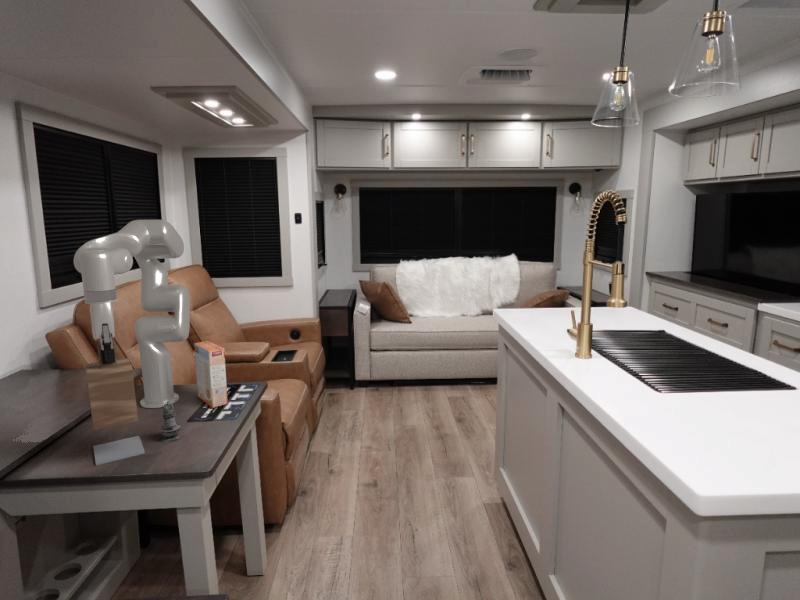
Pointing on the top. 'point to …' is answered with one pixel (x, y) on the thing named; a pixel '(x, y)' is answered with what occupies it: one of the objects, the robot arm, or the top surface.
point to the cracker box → (211, 373)
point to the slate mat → (118, 450)
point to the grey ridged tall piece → (169, 424)
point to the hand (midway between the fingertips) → (108, 360)
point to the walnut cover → (111, 392)
